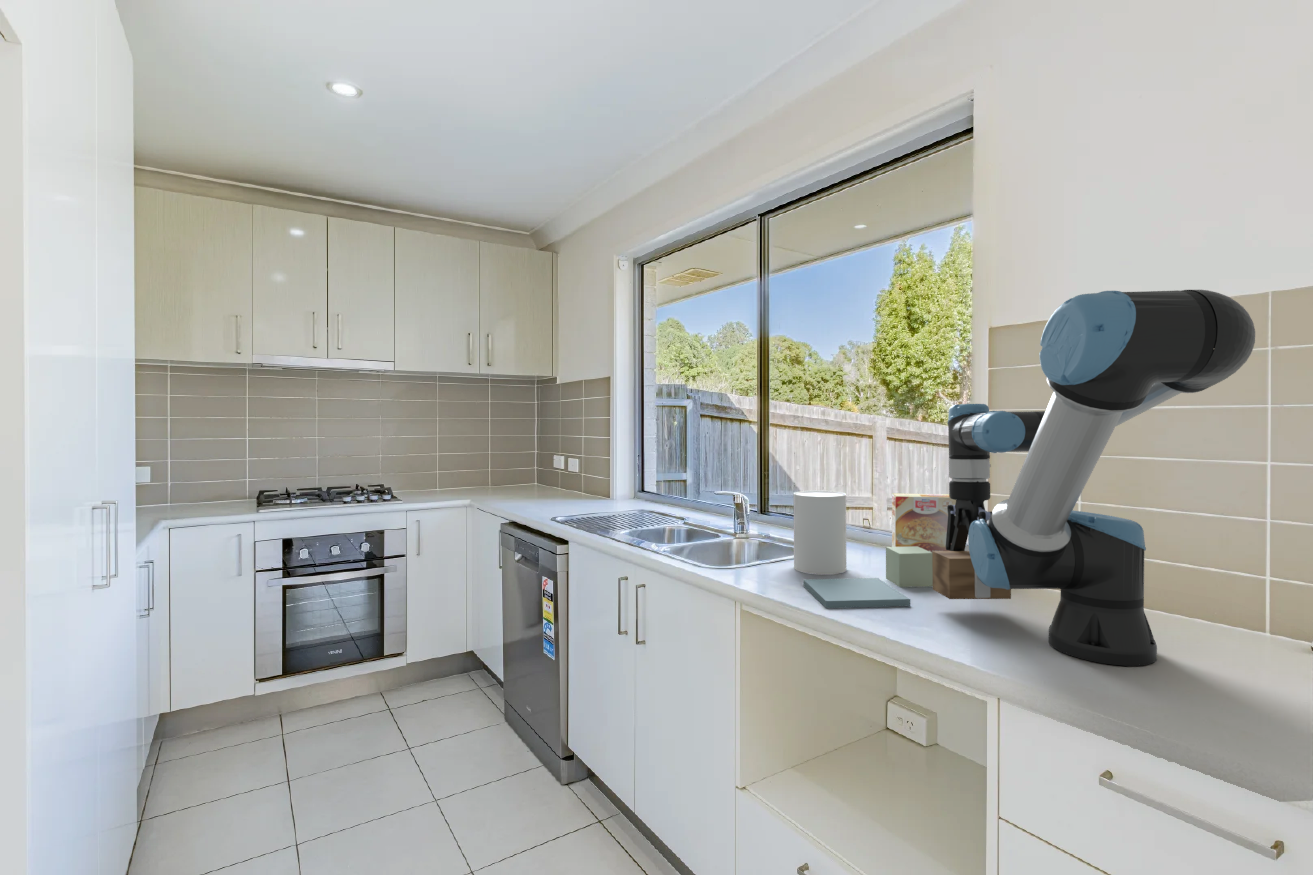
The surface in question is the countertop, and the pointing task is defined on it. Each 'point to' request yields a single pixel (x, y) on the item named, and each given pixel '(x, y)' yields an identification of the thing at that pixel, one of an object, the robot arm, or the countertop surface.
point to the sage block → (909, 566)
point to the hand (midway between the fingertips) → (970, 591)
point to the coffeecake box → (920, 520)
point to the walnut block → (958, 576)
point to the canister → (820, 532)
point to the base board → (855, 593)
